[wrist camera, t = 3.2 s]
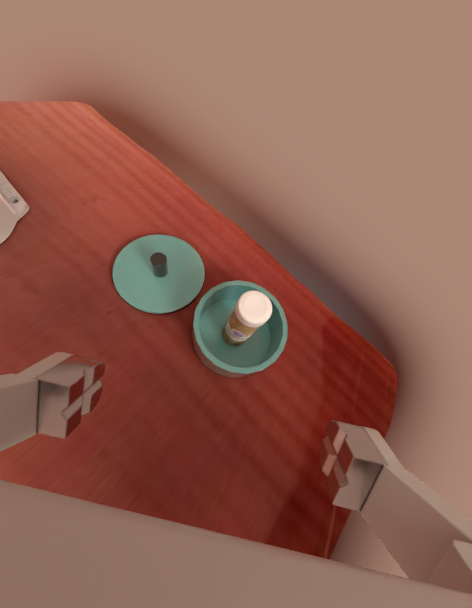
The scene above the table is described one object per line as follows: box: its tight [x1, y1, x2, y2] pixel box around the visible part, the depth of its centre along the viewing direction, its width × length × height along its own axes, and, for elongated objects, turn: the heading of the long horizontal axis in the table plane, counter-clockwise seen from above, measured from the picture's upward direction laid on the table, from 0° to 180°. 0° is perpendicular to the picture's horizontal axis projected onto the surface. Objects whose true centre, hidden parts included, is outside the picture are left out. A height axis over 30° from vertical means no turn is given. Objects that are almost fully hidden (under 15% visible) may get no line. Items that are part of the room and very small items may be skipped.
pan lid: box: [112, 235, 205, 314], centre depth 42 cm, size 16×16×5 cm
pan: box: [192, 280, 287, 378], centre depth 40 cm, size 15×15×6 cm
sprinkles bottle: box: [222, 291, 272, 346], centre depth 36 cm, size 5×5×13 cm
